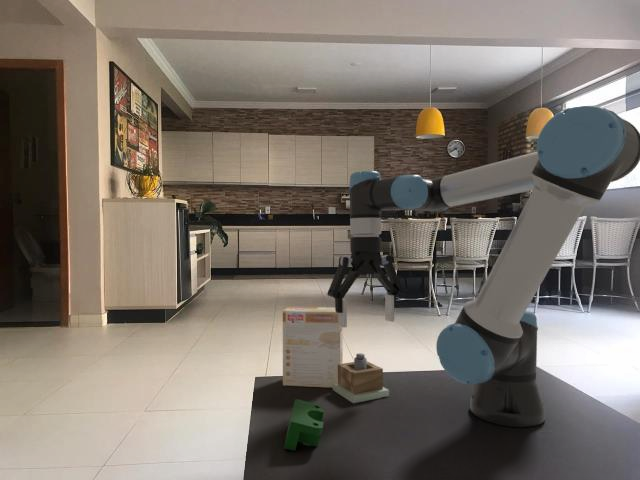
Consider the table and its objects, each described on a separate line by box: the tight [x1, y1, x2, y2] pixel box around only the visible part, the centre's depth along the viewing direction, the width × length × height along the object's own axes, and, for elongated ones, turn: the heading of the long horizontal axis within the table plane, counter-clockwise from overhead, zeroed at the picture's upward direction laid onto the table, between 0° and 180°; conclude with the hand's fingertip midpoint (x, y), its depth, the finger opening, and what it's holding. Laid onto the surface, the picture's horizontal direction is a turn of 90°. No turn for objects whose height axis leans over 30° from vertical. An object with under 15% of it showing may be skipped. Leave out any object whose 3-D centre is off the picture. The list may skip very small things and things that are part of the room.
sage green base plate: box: [332, 353, 390, 404], centre depth 114 cm, size 10×10×10 cm
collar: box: [338, 360, 384, 394], centre depth 114 cm, size 8×8×5 cm
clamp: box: [283, 398, 325, 452], centre depth 89 cm, size 12×6×9 cm, turn 173°
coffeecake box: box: [282, 306, 344, 389], centre depth 122 cm, size 15×7×20 cm, turn 82°
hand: (366, 323), depth 113 cm, fingers open, 13 cm apart
